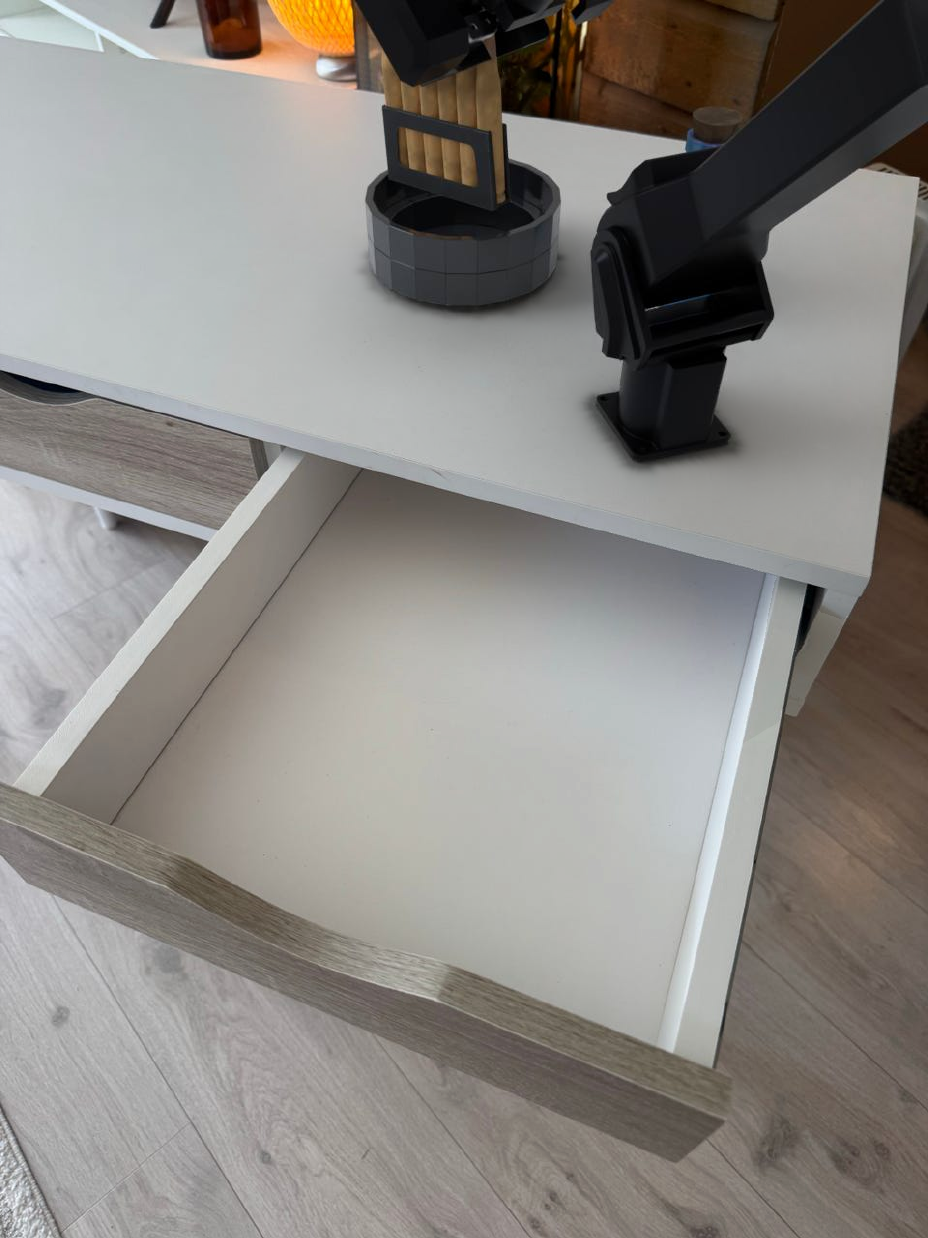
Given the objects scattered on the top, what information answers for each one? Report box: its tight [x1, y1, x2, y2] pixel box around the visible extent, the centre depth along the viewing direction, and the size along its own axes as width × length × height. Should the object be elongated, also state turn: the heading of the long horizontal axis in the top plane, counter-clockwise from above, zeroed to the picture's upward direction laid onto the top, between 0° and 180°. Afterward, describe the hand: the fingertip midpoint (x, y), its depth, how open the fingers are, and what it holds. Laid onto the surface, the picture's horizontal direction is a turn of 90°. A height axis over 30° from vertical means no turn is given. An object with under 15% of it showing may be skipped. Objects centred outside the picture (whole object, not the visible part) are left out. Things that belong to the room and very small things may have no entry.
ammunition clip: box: [380, 9, 511, 211], centre depth 64 cm, size 11×2×12 cm, turn 48°
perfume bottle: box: [661, 106, 743, 307], centre depth 65 cm, size 6×6×12 cm
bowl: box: [364, 158, 562, 307], centre depth 70 cm, size 14×14×6 cm
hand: (428, 75), depth 63 cm, fingers closed on ammunition clip, 2 cm apart
